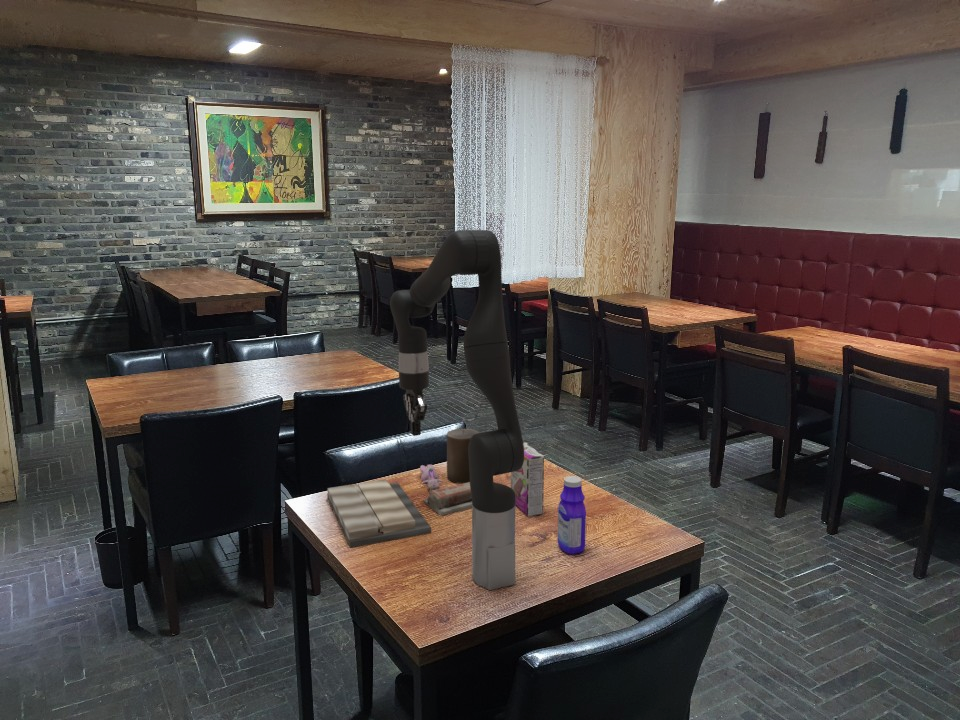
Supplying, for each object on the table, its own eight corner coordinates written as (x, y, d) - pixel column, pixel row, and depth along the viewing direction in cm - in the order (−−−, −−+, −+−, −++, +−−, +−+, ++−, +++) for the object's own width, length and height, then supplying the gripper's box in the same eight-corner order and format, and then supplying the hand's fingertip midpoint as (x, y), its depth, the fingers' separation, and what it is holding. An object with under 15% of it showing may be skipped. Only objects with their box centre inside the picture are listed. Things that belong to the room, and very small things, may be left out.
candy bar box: (509, 500, 190) (509, 443, 186) (525, 498, 191) (526, 441, 188) (526, 517, 180) (527, 458, 176) (544, 514, 181) (545, 455, 178)
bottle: (553, 543, 166) (554, 475, 162) (574, 539, 168) (576, 471, 164) (567, 557, 160) (569, 486, 156) (589, 553, 161) (591, 483, 158)
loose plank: (415, 528, 171) (415, 520, 170) (380, 534, 167) (380, 526, 167) (386, 485, 196) (385, 479, 196) (355, 490, 193) (354, 484, 192)
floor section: (431, 532, 172) (430, 519, 171) (350, 547, 164) (349, 534, 163) (397, 487, 199) (397, 476, 198) (327, 498, 191) (326, 486, 190)
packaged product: (440, 500, 180) (422, 487, 188) (440, 518, 181) (423, 504, 189) (498, 485, 189) (479, 474, 197) (498, 502, 190) (479, 489, 198)
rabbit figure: (446, 496, 196) (435, 469, 209) (446, 478, 194) (435, 451, 207) (424, 498, 194) (414, 471, 208) (424, 480, 192) (414, 453, 206)
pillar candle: (475, 485, 200) (475, 435, 197) (442, 481, 202) (442, 432, 199) (482, 472, 209) (483, 425, 206) (451, 470, 212) (451, 422, 208)
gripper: (436, 372, 170) (438, 440, 174) (419, 362, 182) (421, 425, 186) (407, 375, 167) (409, 444, 171) (391, 365, 179) (394, 429, 183)
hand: (415, 434), depth 178 cm, fingers closed
